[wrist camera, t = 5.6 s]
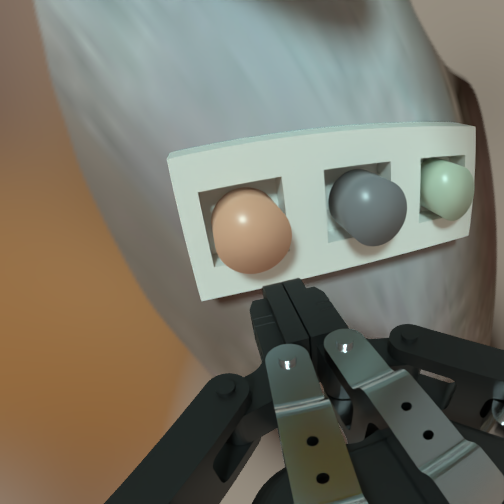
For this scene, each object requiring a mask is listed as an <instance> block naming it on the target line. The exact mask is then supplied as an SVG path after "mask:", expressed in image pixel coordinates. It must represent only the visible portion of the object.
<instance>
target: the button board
mask: <svg viewBox="0 0 504 504" xmlns="http://www.w3.org/2000/svg"><path fill="white" fill-rule="evenodd" d="M475 153H476V127H475V126H470V125H466V124H460V123H455V122H397V123H375V124H359V125H346V126H334V127H324V128H314V129H305V130H297V131H289V132H281V133H274V134H267V135H260V136H254V137H247V138H241V139H235V140H230V141H224V142H219V143H213V144H208V145H203V146H198V147H193V148H189V149H184V150H179V151H175V152H170V154H169V156H168V158H167V163H168V167H169V172H170V177H171V181H172V186H173V190H174V195H175V199H176V203H177V208H178V212H179V216H180V220H181V224H182V229H183V233H184V237H185V241H186V245H187V249H188V253H189V256H190V260H191V264H192V268H193V272H194V276H195V279H196V283H197V287H198V290H199V294H200V298H201V301H205V300H210V299H214V298H219V297H224V296H229V295H233V294H238V293H243V292H247V291H252V290H256V289H261V288H262V286H265V285H270V284H274V283H279V282H283V281H287V280H291V279H296V278H300V279H304V278H309V277H313V276H317V275H321V274H325V273H329V272H334V271H338V270H342V269H346V268H350V267H354V266H358V265H362V264H366V263H370V262H374V261H377V260H381V259H385V258H389V257H393V256H397V255H400V254H404V253H408V252H412V251H415V250H419V249H423V248H426V247H430V246H434V245H437V244H441V243H444V242H448V241H451V240H455V239H458V238H462V237H465V236H469V229H470V221H471V213H472V203H473V201H472V203H471V206H470V208H469V209H468V211H467V212H466V213H465V214H464V215H463V216H462V217H461V218H460V219H458V220H455V221H448V220H446V219H444V218H442V217H441V216H439V215H437V214H435V213H434V212H432V211H430V210H428V209H426V208H424V207H423V206H421V205H420V177H421V163H422V162H423V161H424V160H426V159H428V158H431V157H436V158H440V159H443V160H446V161H449V162H452V163H455V164H457V165H460V166H463V167H465V168H467V169H468V170H469V171H470V172H471V174H472V176H473V179H474V177H475ZM353 169H364V170H367V171H369V172H372V173H374V174H376V175H379V176H381V177H383V178H385V179H387V180H390V181H392V182H394V183H396V184H397V185H398V186H399V187H400V188H401V189H402V191H403V192H404V194H405V197H406V201H407V214H406V218H405V221H404V224H403V226H402V228H401V229H400V231H399V232H398V233H397V235H396V236H395V237H394V238H393V239H391V240H390V241H388V242H387V243H385V244H383V245H379V246H366V245H363V244H361V243H360V242H358V241H357V240H356V239H355V238H354V237H353V236H352V235H350V234H349V233H348V232H347V231H346V230H345V229H344V228H342V227H341V226H340V225H339V224H338V223H337V222H336V221H335V220H334V219H333V217H332V216H331V214H330V211H329V205H328V199H329V194H330V190H331V188H332V186H333V184H334V183H335V181H336V180H337V179H338V178H339V177H340V176H341V175H342V174H344V173H345V172H347V171H350V170H353ZM243 187H250V188H255V189H259V190H261V191H263V192H264V193H266V194H267V195H268V196H269V197H270V198H271V199H272V200H273V201H274V202H275V203H276V205H277V206H278V207H279V208H280V209H281V211H282V212H283V213H284V214H285V215H286V217H287V218H288V220H289V222H290V226H291V230H292V240H291V245H290V248H289V250H288V252H287V254H286V255H285V257H284V258H283V259H282V260H281V261H280V262H279V263H278V264H277V265H276V266H274V267H273V268H271V269H269V270H267V271H264V272H261V273H256V274H244V273H240V272H237V271H234V270H232V269H231V268H229V267H228V266H226V265H225V264H224V263H223V262H222V261H221V259H220V258H219V256H218V254H217V251H216V248H215V243H214V237H213V232H212V225H211V216H212V212H213V209H214V207H215V205H216V203H217V202H218V201H219V199H220V198H221V197H222V196H224V195H225V194H226V193H228V192H230V191H232V190H234V189H237V188H243Z"/></svg>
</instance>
